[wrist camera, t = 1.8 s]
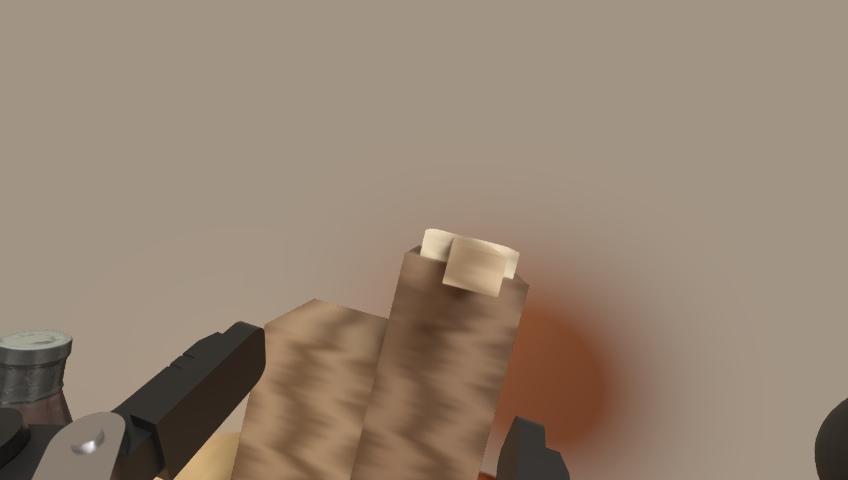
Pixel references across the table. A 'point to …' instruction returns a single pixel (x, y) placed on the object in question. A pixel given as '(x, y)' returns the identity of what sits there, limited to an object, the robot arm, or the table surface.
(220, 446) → the table surface
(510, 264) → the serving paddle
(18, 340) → the sauce bottle
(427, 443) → the block
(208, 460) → the table surface
